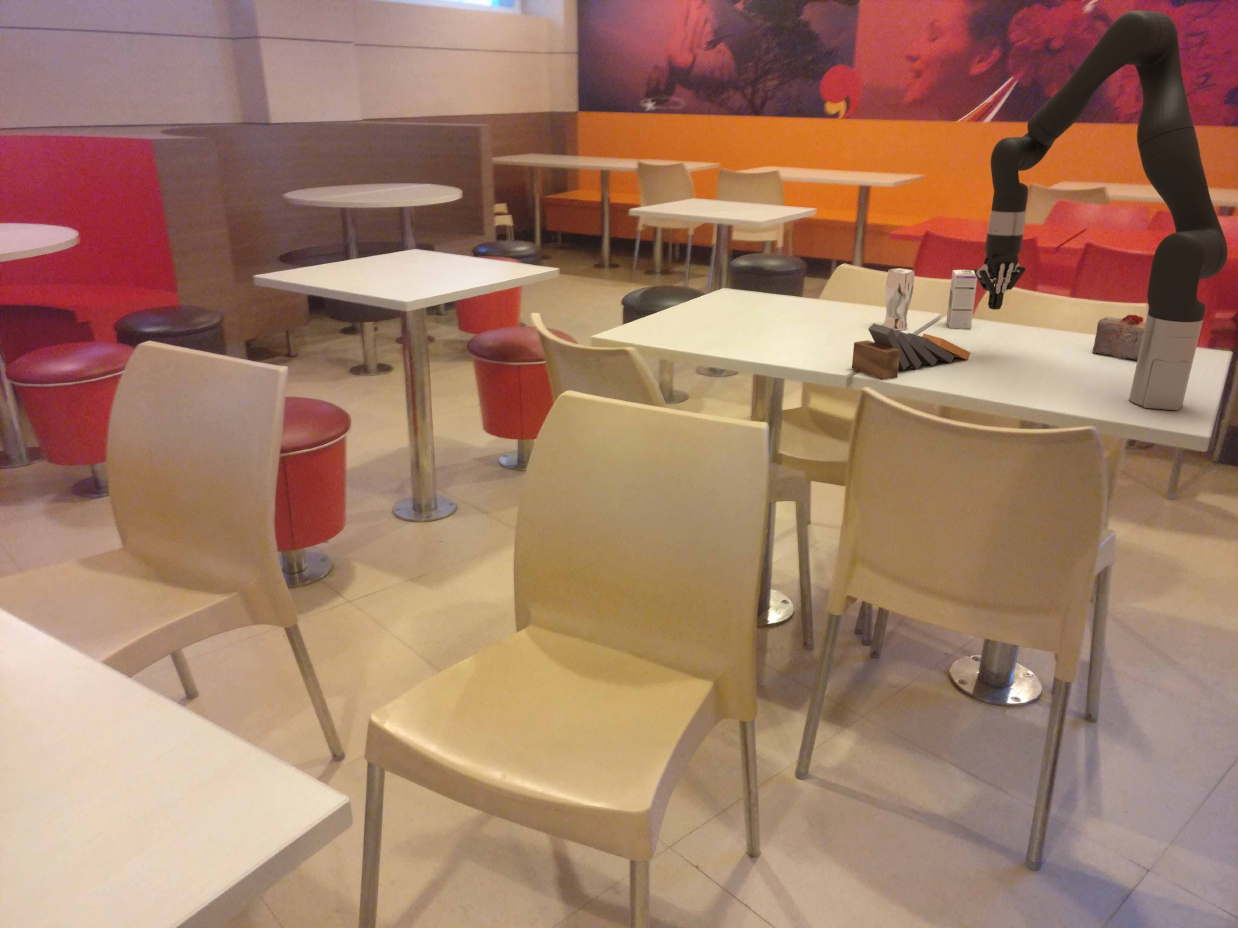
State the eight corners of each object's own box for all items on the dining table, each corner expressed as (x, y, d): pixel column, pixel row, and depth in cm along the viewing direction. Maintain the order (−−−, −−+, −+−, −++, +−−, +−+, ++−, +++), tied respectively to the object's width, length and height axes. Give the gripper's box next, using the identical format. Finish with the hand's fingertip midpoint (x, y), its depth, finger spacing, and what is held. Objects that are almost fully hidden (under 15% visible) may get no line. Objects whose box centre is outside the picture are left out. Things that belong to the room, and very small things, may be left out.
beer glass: (878, 329, 236) (884, 271, 230) (884, 323, 241) (890, 267, 236) (905, 332, 233) (912, 273, 227) (911, 326, 238) (917, 269, 233)
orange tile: (952, 347, 212) (923, 333, 205) (971, 352, 207) (942, 338, 201) (948, 354, 212) (920, 340, 206) (967, 360, 207) (939, 346, 201)
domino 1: (890, 358, 203) (873, 323, 197) (909, 364, 198) (892, 328, 192) (885, 364, 203) (868, 328, 197) (903, 370, 198) (886, 334, 192)
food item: (1161, 358, 209) (1170, 316, 205) (1152, 365, 203) (1162, 322, 199) (1097, 348, 217) (1106, 308, 213) (1088, 354, 211) (1096, 313, 208)
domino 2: (903, 357, 205) (883, 326, 198) (921, 363, 200) (901, 331, 194) (898, 363, 205) (877, 332, 198) (916, 369, 200) (896, 337, 194)
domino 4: (935, 350, 209) (908, 332, 203) (954, 356, 205) (926, 338, 198) (932, 357, 209) (904, 340, 203) (950, 363, 205) (923, 345, 199)
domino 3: (918, 354, 207) (894, 330, 201) (937, 359, 202) (912, 335, 196) (914, 360, 207) (889, 336, 201) (933, 366, 202) (908, 342, 196)
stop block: (865, 366, 203) (867, 340, 201) (897, 377, 195) (900, 350, 193) (851, 368, 201) (854, 342, 199) (883, 379, 193) (886, 352, 191)
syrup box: (971, 329, 235) (979, 273, 229) (947, 328, 236) (955, 273, 231) (968, 324, 240) (975, 270, 235) (944, 323, 241) (952, 269, 236)
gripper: (993, 235, 195) (982, 314, 201) (1041, 232, 199) (1029, 309, 206) (969, 231, 202) (960, 308, 208) (1016, 228, 206) (1005, 303, 212)
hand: (994, 308), depth 207 cm, fingers closed
